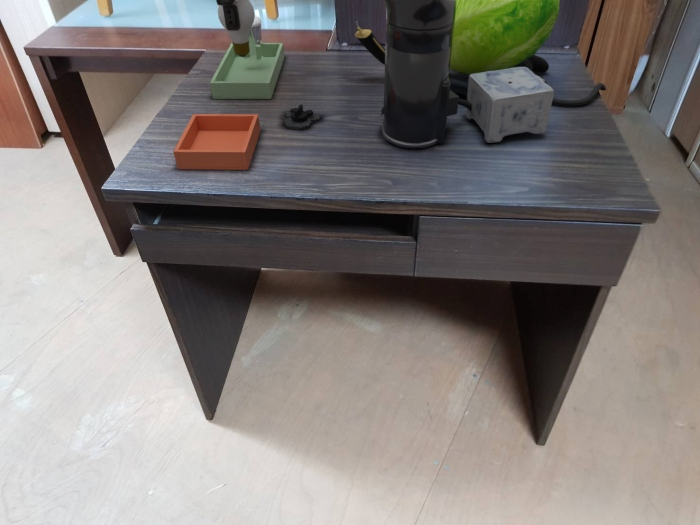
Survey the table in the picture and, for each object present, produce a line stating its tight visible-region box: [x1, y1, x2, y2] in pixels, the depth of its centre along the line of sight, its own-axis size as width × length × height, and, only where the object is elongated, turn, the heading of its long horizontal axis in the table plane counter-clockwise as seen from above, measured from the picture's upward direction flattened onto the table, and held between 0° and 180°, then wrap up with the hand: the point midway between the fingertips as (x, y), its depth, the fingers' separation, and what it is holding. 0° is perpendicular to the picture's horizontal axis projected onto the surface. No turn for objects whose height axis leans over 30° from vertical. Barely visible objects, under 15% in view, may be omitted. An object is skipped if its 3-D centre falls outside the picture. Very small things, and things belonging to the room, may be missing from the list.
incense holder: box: [465, 67, 555, 144], centre depth 84 cm, size 10×8×10 cm
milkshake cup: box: [244, 15, 263, 69], centre depth 102 cm, size 4×5×10 cm
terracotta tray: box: [173, 113, 261, 171], centre depth 82 cm, size 10×11×3 cm
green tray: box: [209, 42, 285, 100], centre depth 101 cm, size 10×18×3 cm, turn 178°
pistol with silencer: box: [354, 26, 469, 97], centre depth 93 cm, size 4×25×11 cm, turn 53°
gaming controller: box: [513, 54, 550, 85], centre depth 97 cm, size 11×4×7 cm
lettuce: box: [450, 0, 561, 76], centre depth 91 cm, size 15×23×16 cm
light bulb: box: [217, 0, 256, 57], centre depth 91 cm, size 6×6×10 cm
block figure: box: [282, 104, 322, 131], centre depth 88 cm, size 6×2×6 cm
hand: (237, 22), depth 91 cm, fingers closed on light bulb, 6 cm apart
